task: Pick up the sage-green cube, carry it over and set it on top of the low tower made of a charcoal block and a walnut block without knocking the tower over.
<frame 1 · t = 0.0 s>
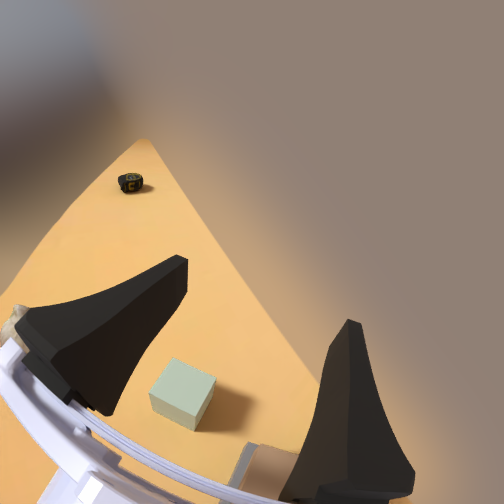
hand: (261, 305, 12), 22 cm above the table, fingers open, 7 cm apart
tape measure: (128, 190, 68), on the table
garlic bulb: (38, 367, 24), on the table
green cube: (183, 404, 27), on the table
tower top: (279, 495, 17), point 2 cm above the table
tower base: (272, 499, 19), on the table
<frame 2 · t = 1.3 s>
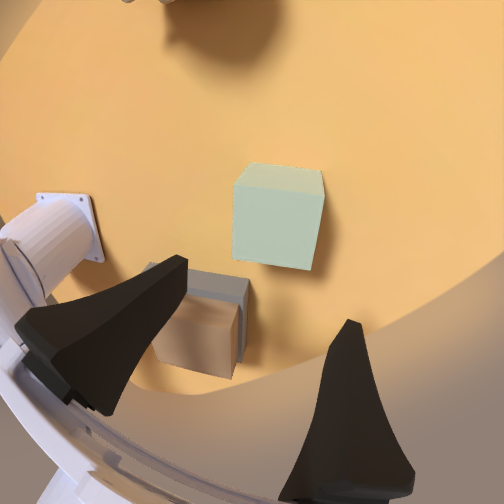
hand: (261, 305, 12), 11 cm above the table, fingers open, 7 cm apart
green cube: (282, 197, 20), on the table
tower top: (198, 325, 26), point 2 cm above the table, touching tower base
tower base: (202, 304, 29), on the table, touching tower top
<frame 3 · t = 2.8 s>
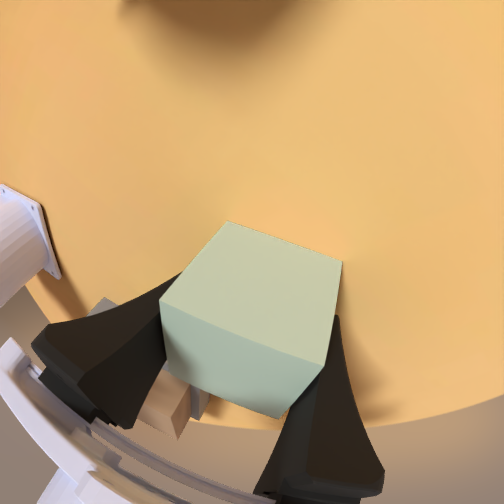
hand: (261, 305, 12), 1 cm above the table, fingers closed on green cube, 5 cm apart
green cube: (270, 284, 13), on the table, touching gripper
tower top: (148, 379, 20), point 2 cm above the table, touching tower base
tower base: (163, 352, 22), on the table, touching tower top
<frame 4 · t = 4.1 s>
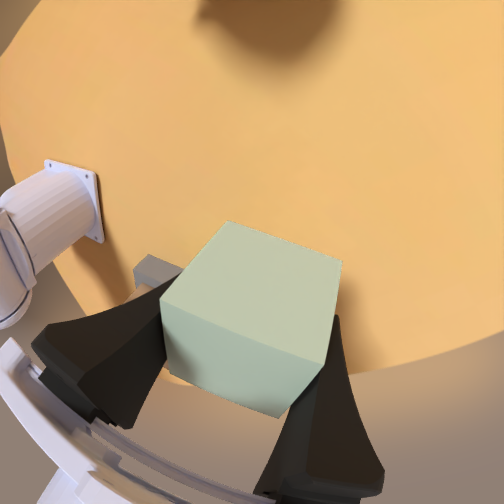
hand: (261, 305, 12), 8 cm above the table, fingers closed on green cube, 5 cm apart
green cube: (271, 283, 13), point 6 cm above the table, touching gripper
tower base: (196, 306, 27), on the table, touching tower top
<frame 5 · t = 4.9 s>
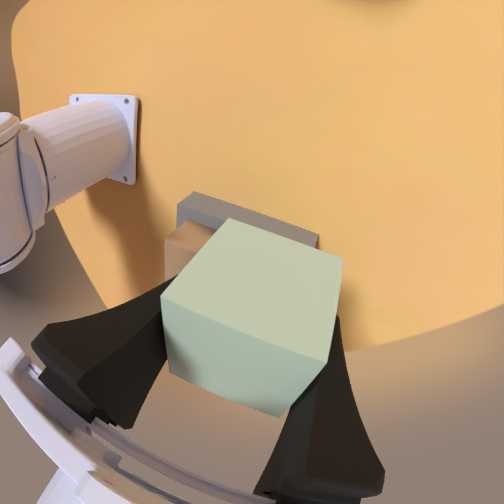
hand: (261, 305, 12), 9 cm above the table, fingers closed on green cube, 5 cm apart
green cube: (272, 281, 13), point 8 cm above the table, touching gripper
tower top: (230, 279, 21), point 2 cm above the table, touching tower base
tower base: (245, 258, 24), on the table, touching tower top
when the fingers open (8 cm above the table, at t = 6.2 s): green cube drops 1 cm, point 5 cm above the table.
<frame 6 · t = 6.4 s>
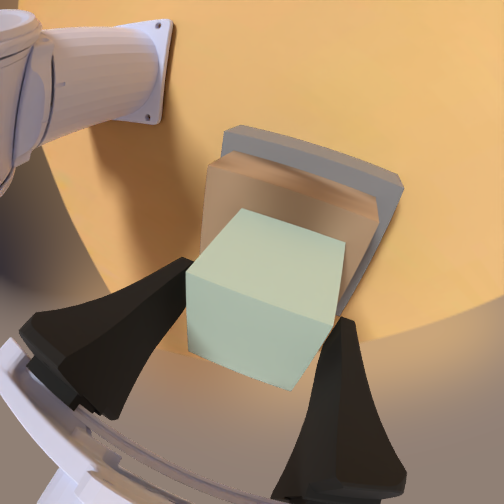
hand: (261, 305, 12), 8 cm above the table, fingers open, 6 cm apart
green cube: (281, 266, 14), point 5 cm above the table
tower top: (286, 232, 16), point 2 cm above the table, touching tower base
tower base: (300, 212, 19), on the table, touching tower top
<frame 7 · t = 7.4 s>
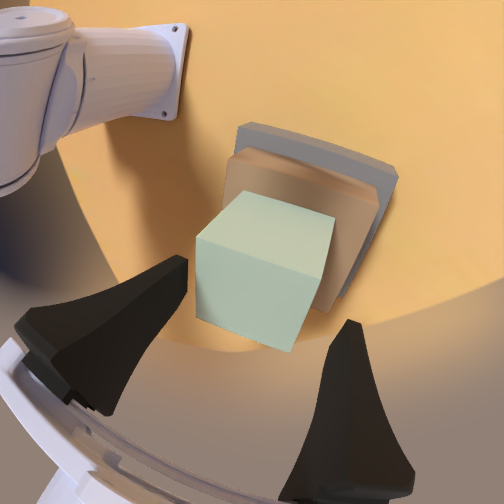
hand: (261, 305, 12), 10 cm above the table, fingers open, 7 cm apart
green cube: (279, 242, 16), point 5 cm above the table, touching tower top
tower top: (295, 220, 18), point 2 cm above the table, touching green cube
tower base: (305, 202, 20), on the table
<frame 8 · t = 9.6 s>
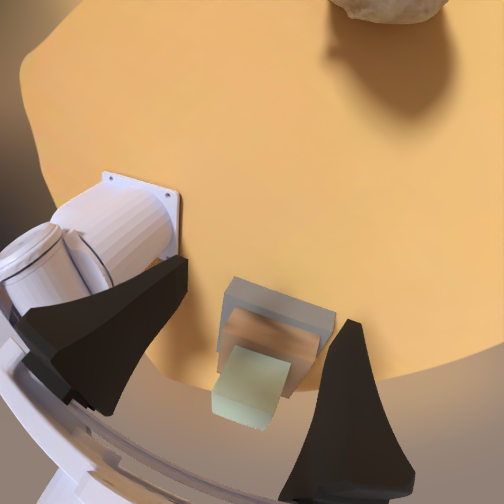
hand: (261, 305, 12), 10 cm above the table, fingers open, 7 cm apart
green cube: (259, 368, 24), point 5 cm above the table, touching tower top
tower top: (268, 345, 26), point 2 cm above the table, touching green cube, tower base
tower base: (274, 323, 28), on the table, touching tower top
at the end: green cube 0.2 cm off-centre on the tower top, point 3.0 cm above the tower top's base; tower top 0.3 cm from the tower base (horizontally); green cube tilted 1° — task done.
